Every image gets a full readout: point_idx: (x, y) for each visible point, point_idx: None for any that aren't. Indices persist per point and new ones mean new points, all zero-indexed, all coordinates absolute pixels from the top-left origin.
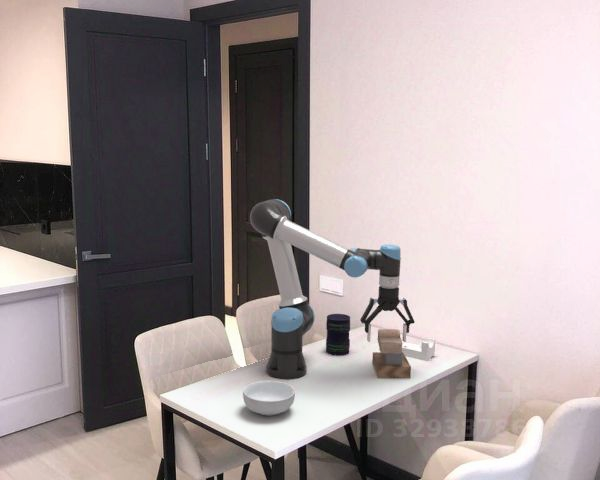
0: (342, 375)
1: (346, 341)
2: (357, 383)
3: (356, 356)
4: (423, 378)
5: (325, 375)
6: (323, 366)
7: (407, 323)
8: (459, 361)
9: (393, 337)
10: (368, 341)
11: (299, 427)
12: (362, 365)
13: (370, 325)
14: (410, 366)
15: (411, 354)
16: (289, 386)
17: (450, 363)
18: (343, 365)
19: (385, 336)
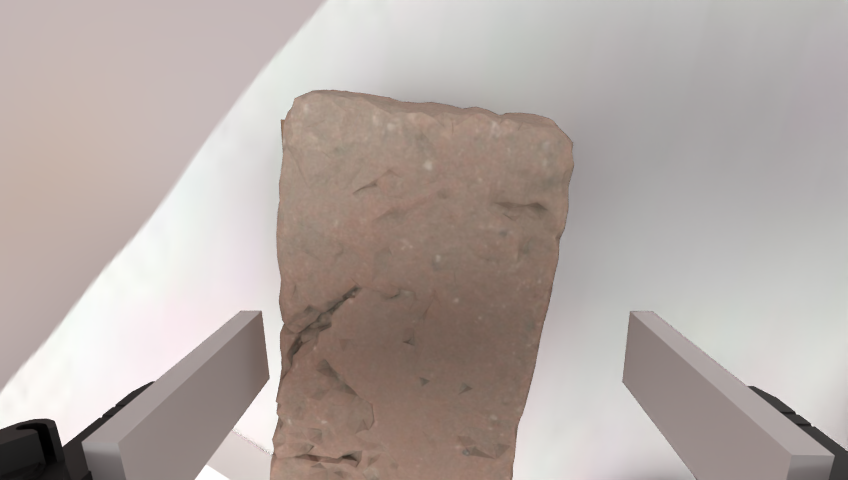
0: (725, 174)
1: None
2: (665, 28)
3: (562, 469)
4: (230, 123)
5: (835, 174)
6: (800, 324)
7: (33, 476)
8: (7, 388)
9: (366, 325)
10: (651, 314)
11: None
12: (559, 337)
13: (796, 451)
14: (283, 125)
15: (253, 462)
16: None
17: (57, 360)
18: None
19: (459, 363)
